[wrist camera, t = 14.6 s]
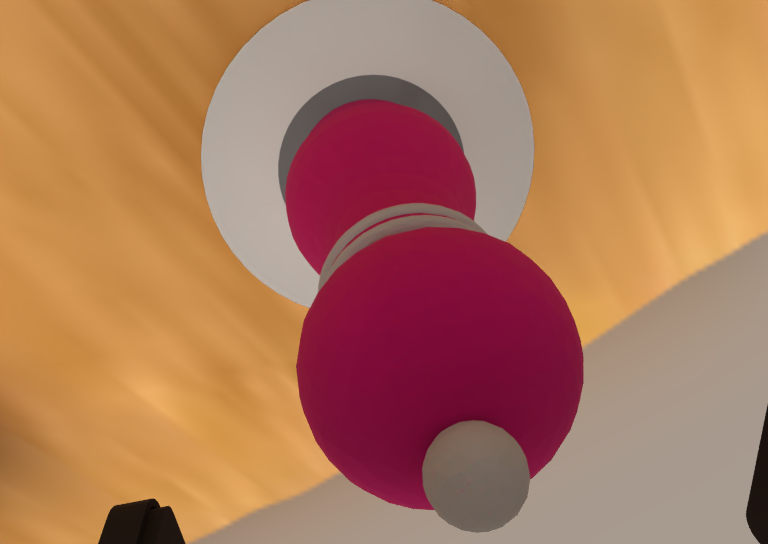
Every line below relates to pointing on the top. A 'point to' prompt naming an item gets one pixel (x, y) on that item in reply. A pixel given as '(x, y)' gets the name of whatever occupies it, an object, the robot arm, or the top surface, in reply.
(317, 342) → the pepper mill
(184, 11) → the top surface
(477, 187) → the mount plate
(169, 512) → the robot arm
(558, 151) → the top surface
